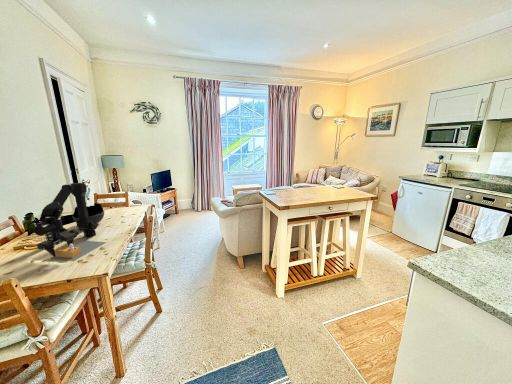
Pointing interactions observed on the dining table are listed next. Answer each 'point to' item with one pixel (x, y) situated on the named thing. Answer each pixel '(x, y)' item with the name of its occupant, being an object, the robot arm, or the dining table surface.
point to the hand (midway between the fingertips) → (62, 252)
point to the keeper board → (81, 249)
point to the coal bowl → (91, 213)
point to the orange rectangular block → (67, 252)
